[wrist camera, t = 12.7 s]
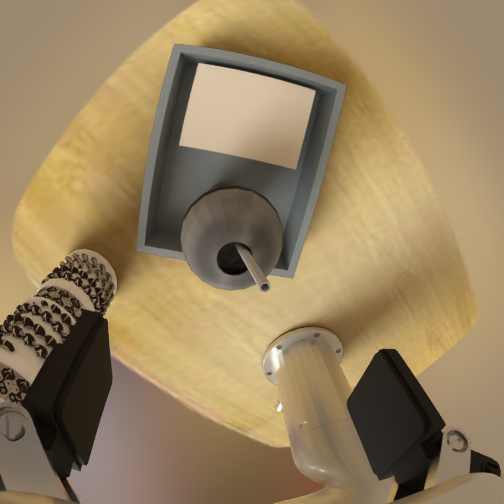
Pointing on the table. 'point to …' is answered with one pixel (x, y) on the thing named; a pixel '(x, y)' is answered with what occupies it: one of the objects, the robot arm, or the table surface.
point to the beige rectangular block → (247, 115)
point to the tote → (232, 158)
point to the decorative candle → (51, 318)
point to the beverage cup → (232, 237)
